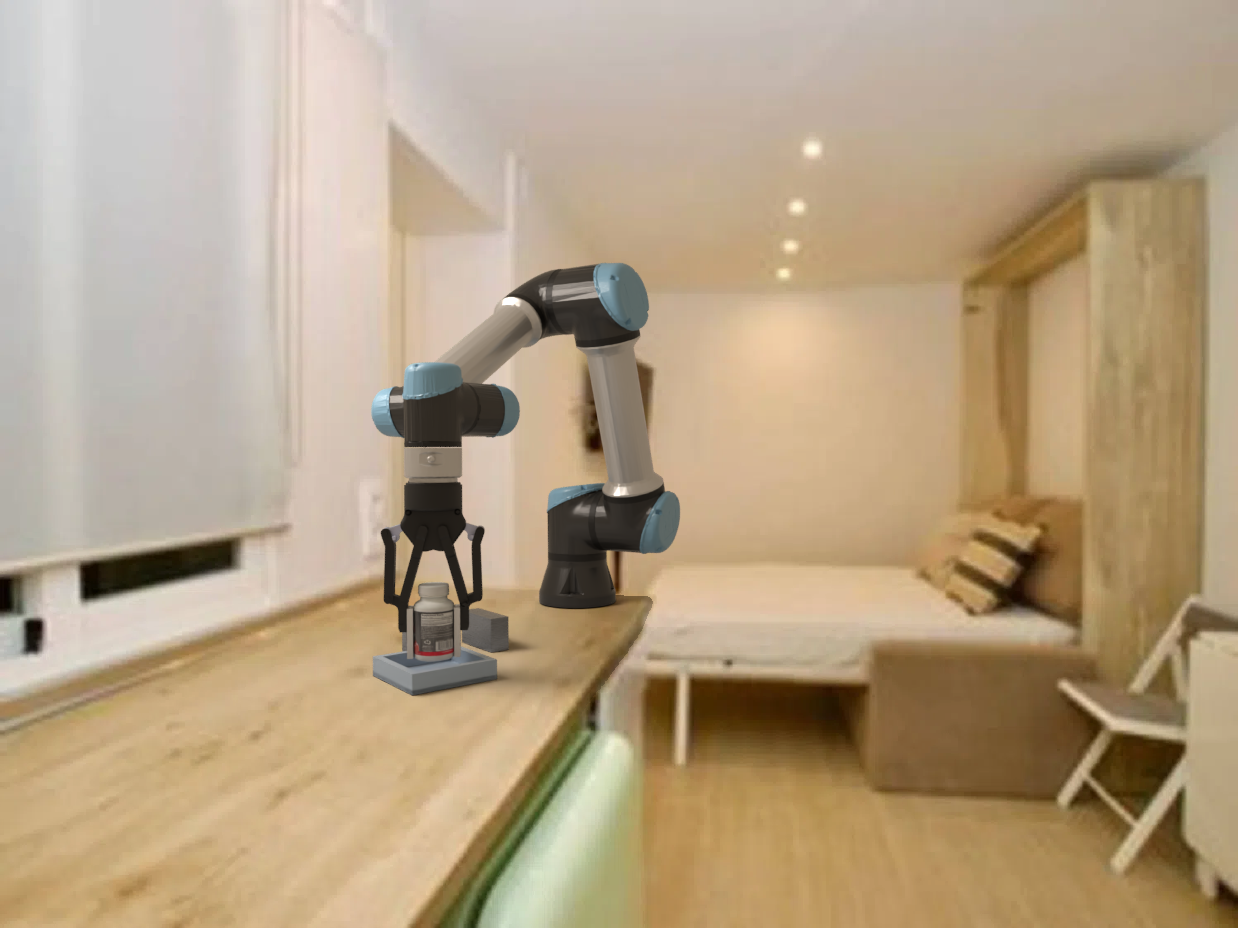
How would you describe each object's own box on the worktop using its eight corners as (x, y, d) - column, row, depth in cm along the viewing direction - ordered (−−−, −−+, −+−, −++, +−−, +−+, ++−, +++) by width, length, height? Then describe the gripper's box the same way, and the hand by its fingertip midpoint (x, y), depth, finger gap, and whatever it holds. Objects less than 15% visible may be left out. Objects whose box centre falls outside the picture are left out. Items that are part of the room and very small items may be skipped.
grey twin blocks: (484, 638, 139) (484, 607, 139) (514, 648, 132) (514, 615, 132) (395, 652, 129) (395, 618, 129) (423, 664, 122) (422, 628, 122)
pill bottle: (415, 653, 117) (414, 581, 117) (455, 652, 118) (455, 580, 118) (412, 663, 112) (411, 587, 112) (454, 661, 113) (454, 586, 113)
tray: (453, 661, 124) (453, 643, 124) (497, 678, 114) (496, 659, 114) (372, 675, 116) (372, 656, 116) (412, 695, 107) (412, 674, 107)
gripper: (357, 482, 110) (358, 665, 110) (504, 480, 112) (504, 659, 113) (365, 480, 117) (366, 651, 117) (503, 479, 120) (503, 646, 120)
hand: (434, 655), depth 115 cm, fingers closed on pill bottle, 5 cm apart
